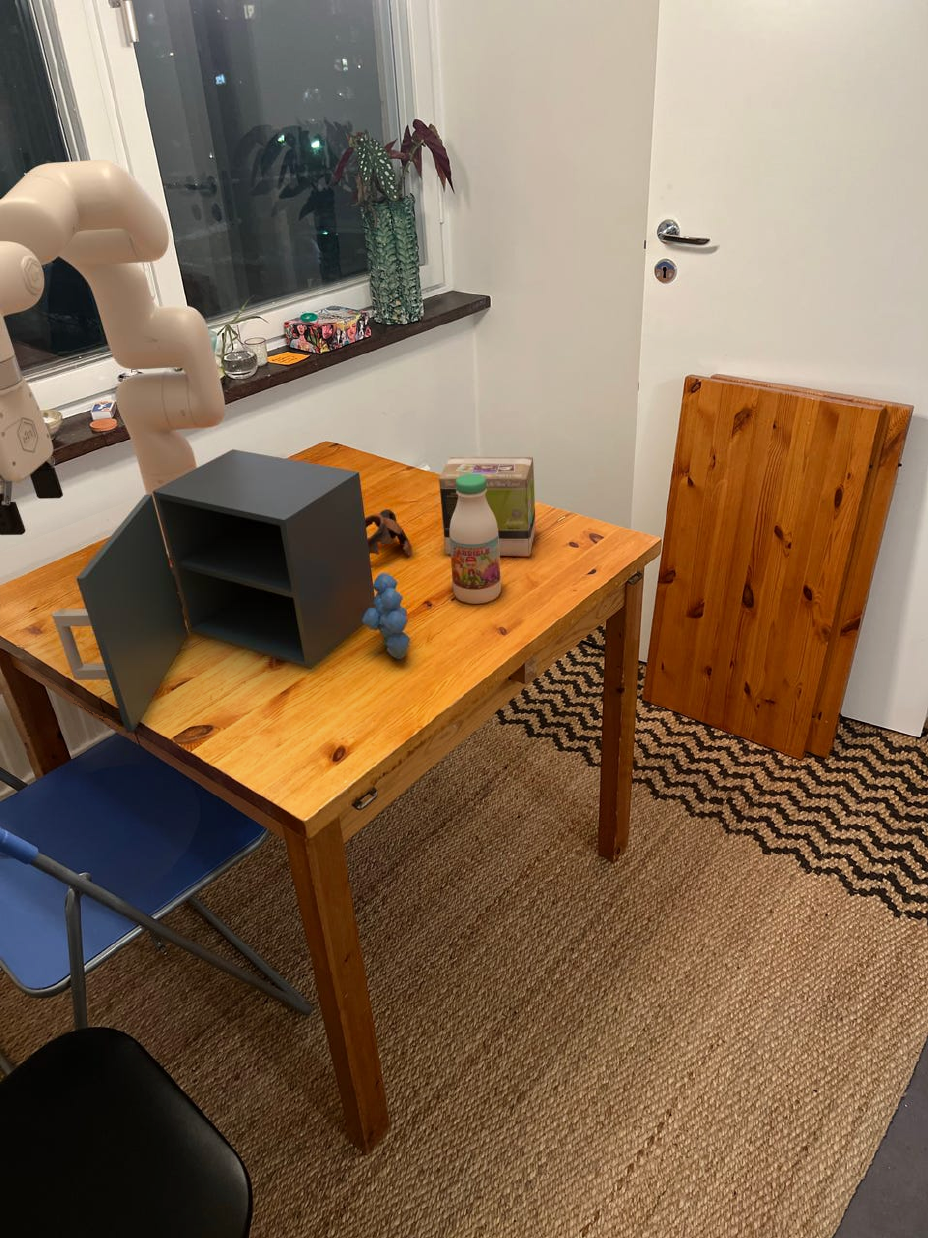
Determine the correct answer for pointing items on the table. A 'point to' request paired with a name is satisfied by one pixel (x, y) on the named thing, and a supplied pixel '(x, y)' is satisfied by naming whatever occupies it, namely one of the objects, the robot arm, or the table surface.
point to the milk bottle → (474, 543)
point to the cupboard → (269, 554)
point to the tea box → (496, 498)
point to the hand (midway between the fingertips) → (32, 514)
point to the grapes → (388, 616)
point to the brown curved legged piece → (386, 531)
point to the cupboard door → (128, 613)
